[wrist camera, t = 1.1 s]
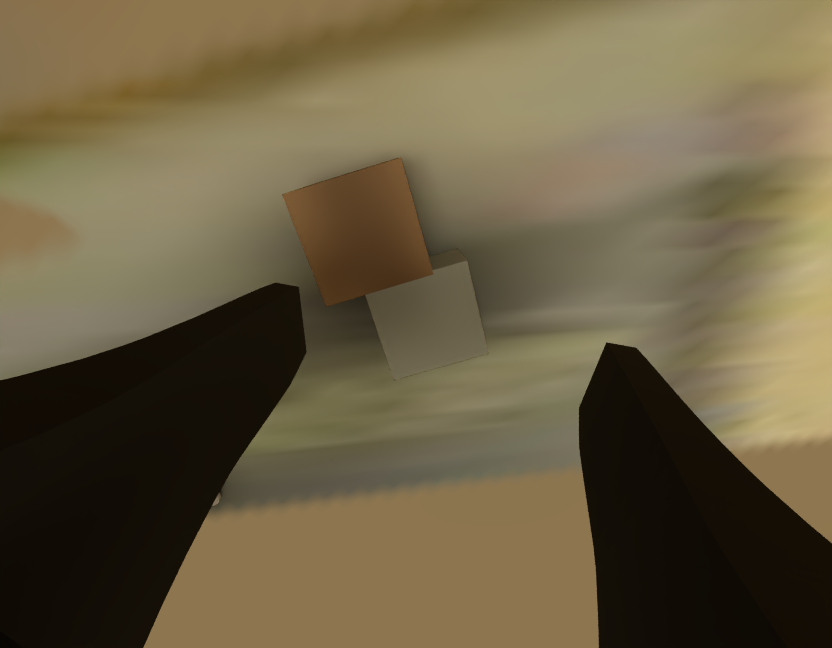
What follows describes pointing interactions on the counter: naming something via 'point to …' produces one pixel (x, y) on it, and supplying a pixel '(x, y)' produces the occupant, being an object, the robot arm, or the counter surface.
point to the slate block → (430, 318)
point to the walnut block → (360, 232)
